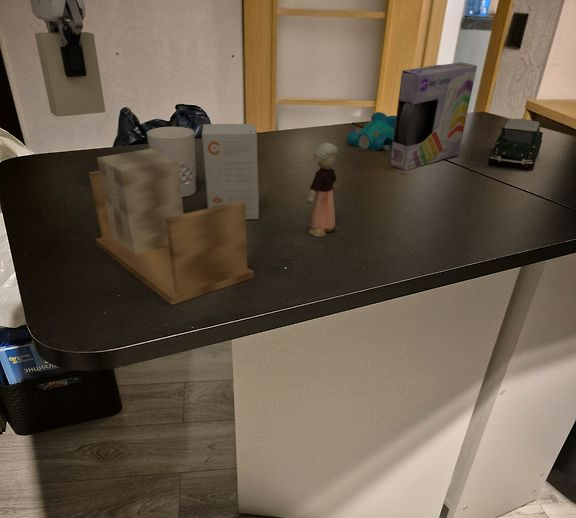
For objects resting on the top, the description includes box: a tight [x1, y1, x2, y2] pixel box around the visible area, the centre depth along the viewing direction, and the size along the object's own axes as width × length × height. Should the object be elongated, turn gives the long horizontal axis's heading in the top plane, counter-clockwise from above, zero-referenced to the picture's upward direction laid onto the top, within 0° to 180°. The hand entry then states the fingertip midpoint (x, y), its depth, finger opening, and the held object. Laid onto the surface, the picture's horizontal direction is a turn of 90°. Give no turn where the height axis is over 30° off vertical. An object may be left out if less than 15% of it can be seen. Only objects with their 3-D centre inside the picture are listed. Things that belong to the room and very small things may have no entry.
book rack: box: [88, 148, 255, 306], centre depth 70 cm, size 12×22×12 cm, turn 39°
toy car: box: [346, 111, 396, 152], centre depth 126 cm, size 11×18×7 cm, turn 137°
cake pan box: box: [389, 61, 478, 171], centre depth 110 cm, size 19×5×18 cm, turn 129°
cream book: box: [34, 31, 106, 117], centre depth 85 cm, size 8×3×11 cm, turn 129°
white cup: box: [146, 126, 197, 198], centre depth 94 cm, size 8×8×10 cm
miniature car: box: [487, 118, 544, 171], centre depth 115 cm, size 9×18×8 cm, turn 155°
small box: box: [201, 123, 260, 221], centre depth 84 cm, size 8×6×13 cm
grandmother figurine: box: [306, 142, 338, 238], centre depth 79 cm, size 8×4×13 cm, turn 158°
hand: (71, 73), depth 85 cm, fingers closed on cream book, 3 cm apart
